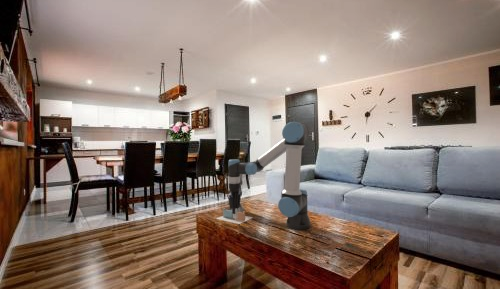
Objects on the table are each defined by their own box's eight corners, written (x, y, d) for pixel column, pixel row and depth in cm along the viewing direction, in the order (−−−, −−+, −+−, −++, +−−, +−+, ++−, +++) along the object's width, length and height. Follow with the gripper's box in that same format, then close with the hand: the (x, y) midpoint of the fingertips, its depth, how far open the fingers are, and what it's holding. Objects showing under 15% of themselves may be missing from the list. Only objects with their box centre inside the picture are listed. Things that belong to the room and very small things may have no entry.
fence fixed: (235, 219, 164) (235, 209, 164) (234, 219, 163) (233, 209, 163) (224, 216, 171) (224, 207, 171) (222, 217, 169) (222, 207, 169)
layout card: (253, 217, 167) (253, 217, 167) (239, 224, 154) (239, 223, 154) (230, 213, 179) (230, 212, 179) (216, 218, 166) (216, 218, 166)
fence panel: (245, 220, 159) (245, 211, 159) (244, 221, 158) (244, 212, 158) (236, 218, 164) (236, 209, 164) (235, 219, 163) (234, 210, 163)
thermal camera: (243, 212, 179) (242, 167, 179) (226, 212, 180) (225, 167, 180) (245, 208, 191) (244, 165, 191) (229, 208, 192) (228, 165, 192)
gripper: (236, 180, 163) (236, 214, 163) (223, 183, 153) (224, 220, 153) (244, 181, 159) (245, 216, 159) (232, 184, 148) (233, 222, 148)
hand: (235, 218), depth 156 cm, fingers closed
